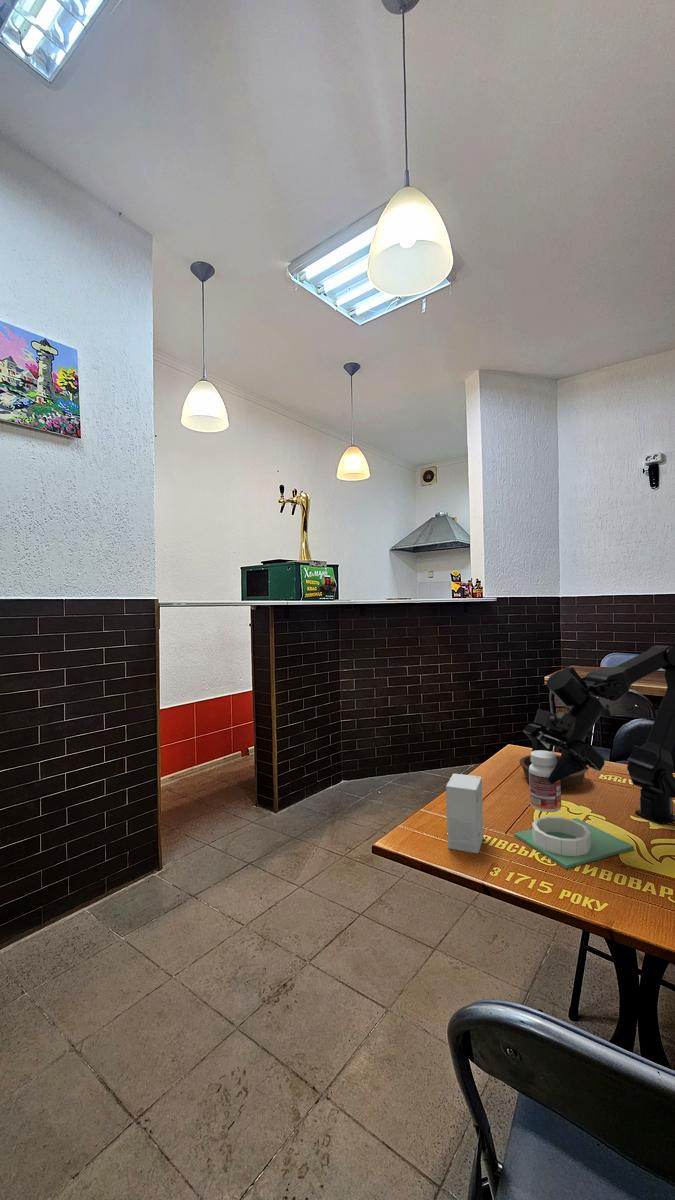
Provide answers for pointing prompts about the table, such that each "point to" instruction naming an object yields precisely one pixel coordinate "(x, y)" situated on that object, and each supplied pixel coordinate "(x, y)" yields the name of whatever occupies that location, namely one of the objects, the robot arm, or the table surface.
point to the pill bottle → (544, 782)
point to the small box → (464, 813)
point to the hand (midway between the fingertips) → (539, 776)
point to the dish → (565, 782)
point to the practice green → (571, 841)
